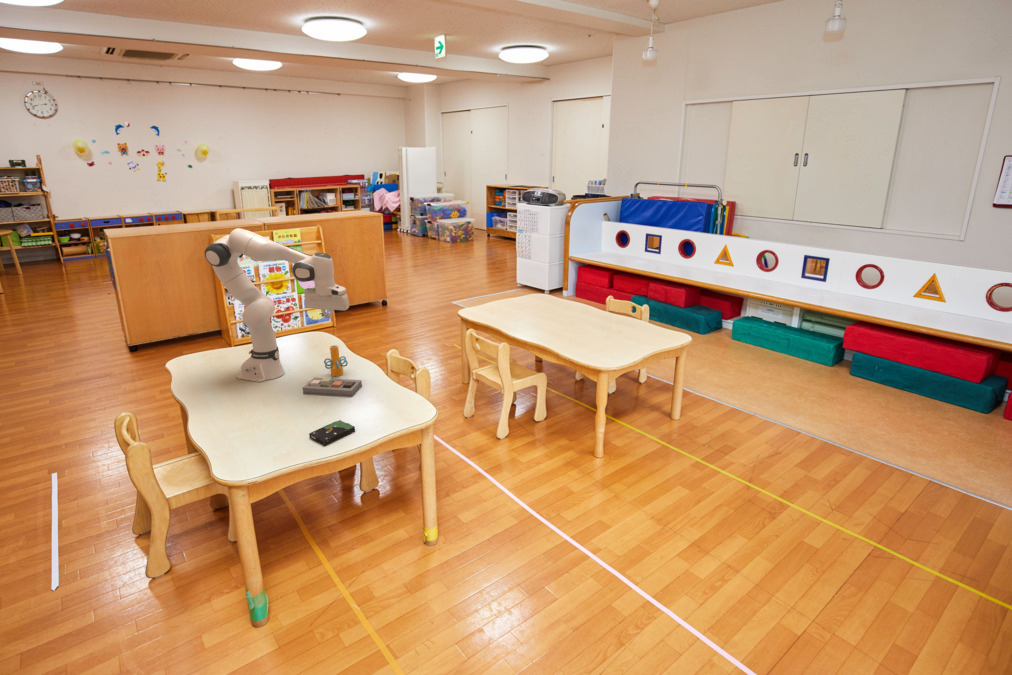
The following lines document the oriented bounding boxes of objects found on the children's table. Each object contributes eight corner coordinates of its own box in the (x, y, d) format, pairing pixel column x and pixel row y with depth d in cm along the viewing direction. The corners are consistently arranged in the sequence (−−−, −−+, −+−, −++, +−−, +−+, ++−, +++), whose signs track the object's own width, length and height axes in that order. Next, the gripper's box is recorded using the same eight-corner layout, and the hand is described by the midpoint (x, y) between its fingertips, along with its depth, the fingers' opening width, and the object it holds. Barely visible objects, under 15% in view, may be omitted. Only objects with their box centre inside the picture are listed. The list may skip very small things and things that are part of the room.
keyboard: (303, 393, 260) (302, 387, 259) (315, 383, 271) (314, 377, 270) (352, 397, 256) (351, 390, 255) (362, 386, 268) (361, 380, 267)
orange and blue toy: (352, 370, 286) (349, 343, 280) (345, 379, 276) (342, 350, 271) (329, 369, 287) (326, 342, 282) (321, 378, 277) (317, 350, 272)
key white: (310, 387, 263) (310, 383, 262) (314, 384, 266) (313, 379, 265) (318, 388, 262) (317, 383, 261) (321, 384, 266) (321, 380, 265)
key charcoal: (343, 389, 260) (343, 384, 260) (347, 386, 264) (346, 381, 263) (351, 390, 260) (350, 385, 259) (354, 386, 264) (354, 382, 263)
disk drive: (325, 447, 216) (355, 432, 227) (324, 441, 215) (355, 426, 226) (309, 439, 222) (340, 424, 233) (308, 433, 221) (339, 418, 232)
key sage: (321, 385, 262) (320, 380, 261) (324, 382, 265) (324, 377, 264) (328, 385, 261) (328, 381, 260) (332, 382, 265) (331, 377, 264)
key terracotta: (332, 388, 261) (332, 384, 260) (336, 385, 265) (335, 381, 264) (340, 389, 261) (339, 384, 260) (343, 386, 264) (343, 381, 263)
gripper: (300, 289, 250) (303, 318, 255) (343, 292, 247) (346, 321, 252) (307, 286, 256) (310, 314, 260) (349, 288, 253) (351, 317, 258)
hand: (328, 318), depth 256 cm, fingers closed
